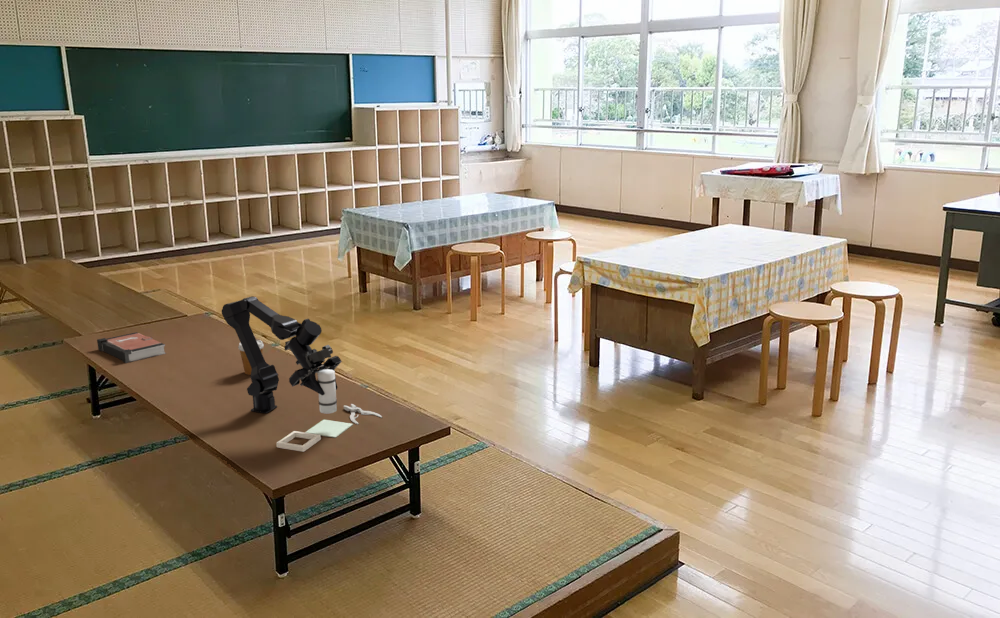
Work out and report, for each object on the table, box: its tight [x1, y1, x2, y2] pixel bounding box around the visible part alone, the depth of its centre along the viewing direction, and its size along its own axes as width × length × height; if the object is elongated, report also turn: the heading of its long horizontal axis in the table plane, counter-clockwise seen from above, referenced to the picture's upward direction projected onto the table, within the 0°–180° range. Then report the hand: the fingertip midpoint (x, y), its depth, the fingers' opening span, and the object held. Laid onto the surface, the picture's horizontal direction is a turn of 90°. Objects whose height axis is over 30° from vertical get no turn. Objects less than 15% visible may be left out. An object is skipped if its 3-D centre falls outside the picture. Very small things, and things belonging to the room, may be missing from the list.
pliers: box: [343, 403, 383, 425], centre depth 274 cm, size 10×2×15 cm
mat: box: [305, 419, 354, 439], centre depth 262 cm, size 11×11×1 cm
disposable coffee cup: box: [237, 339, 265, 376], centre depth 313 cm, size 10×10×12 cm
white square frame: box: [276, 430, 322, 453], centre depth 251 cm, size 10×10×2 cm
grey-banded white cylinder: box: [316, 369, 338, 415], centre depth 259 cm, size 6×6×13 cm
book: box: [96, 332, 167, 364], centre depth 340 cm, size 26×18×5 cm
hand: (330, 391), depth 258 cm, fingers closed on grey-banded white cylinder, 5 cm apart
